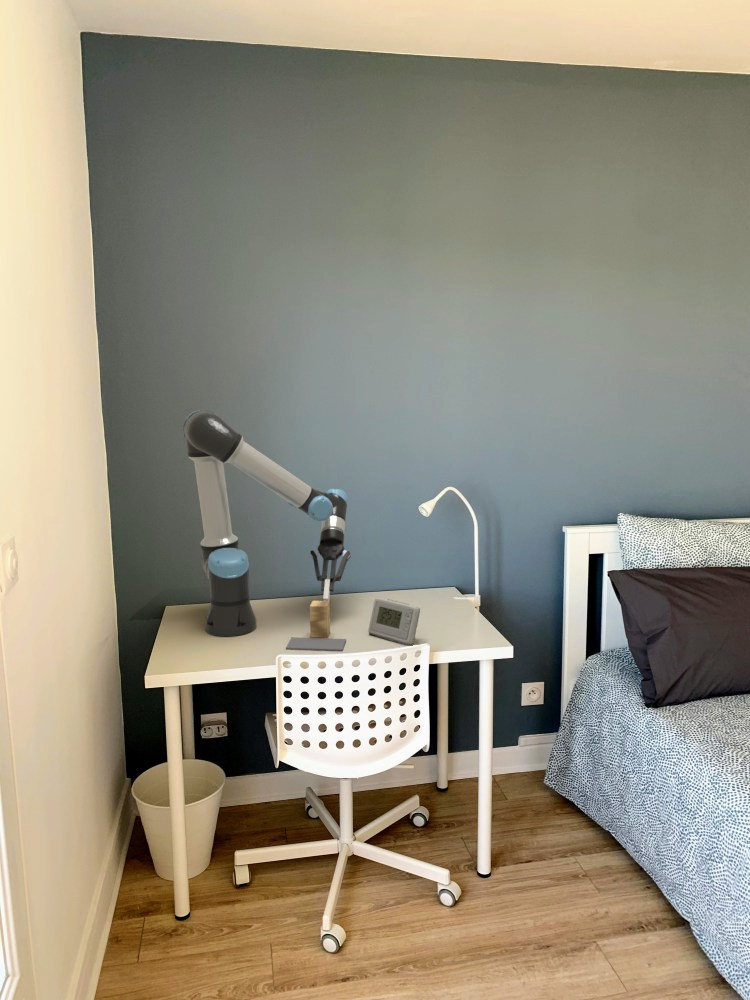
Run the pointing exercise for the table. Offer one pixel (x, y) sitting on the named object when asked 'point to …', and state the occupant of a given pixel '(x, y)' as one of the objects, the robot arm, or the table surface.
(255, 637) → the table surface
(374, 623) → the digital clock
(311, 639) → the mat
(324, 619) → the oak block
